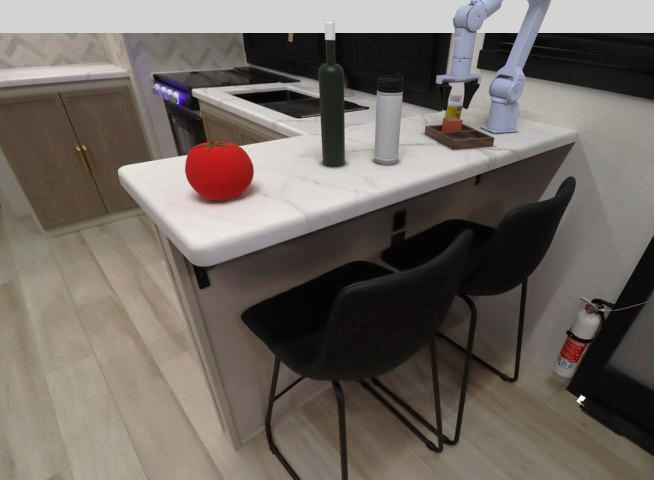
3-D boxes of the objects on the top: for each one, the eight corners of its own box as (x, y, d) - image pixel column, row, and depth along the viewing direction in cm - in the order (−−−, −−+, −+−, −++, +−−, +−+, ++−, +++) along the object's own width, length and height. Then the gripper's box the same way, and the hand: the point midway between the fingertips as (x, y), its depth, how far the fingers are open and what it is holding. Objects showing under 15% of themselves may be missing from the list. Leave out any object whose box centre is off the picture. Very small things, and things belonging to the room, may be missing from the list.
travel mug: (403, 161, 101) (410, 75, 89) (387, 167, 97) (392, 77, 85) (385, 155, 104) (390, 72, 92) (369, 161, 100) (371, 74, 88)
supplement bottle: (455, 128, 131) (460, 96, 125) (441, 125, 133) (445, 94, 127) (461, 125, 135) (466, 94, 129) (447, 122, 137) (451, 92, 131)
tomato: (180, 198, 78) (164, 143, 71) (229, 180, 87) (219, 129, 80) (220, 213, 73) (207, 155, 67) (267, 191, 82) (260, 138, 76)
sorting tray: (461, 131, 128) (462, 123, 126) (492, 146, 115) (494, 137, 113) (424, 134, 124) (425, 125, 122) (453, 150, 110) (454, 141, 109)
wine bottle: (349, 164, 98) (348, 20, 80) (332, 169, 95) (327, 20, 76) (335, 158, 101) (331, 19, 83) (318, 163, 98) (310, 19, 80)
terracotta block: (452, 131, 124) (455, 117, 121) (460, 135, 121) (462, 120, 118) (441, 132, 123) (443, 117, 120) (448, 136, 120) (450, 121, 117)
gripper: (475, 55, 114) (467, 105, 123) (433, 56, 110) (428, 107, 118) (489, 58, 109) (479, 109, 117) (445, 59, 105) (439, 112, 113)
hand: (454, 109), depth 118 cm, fingers open, 7 cm apart
